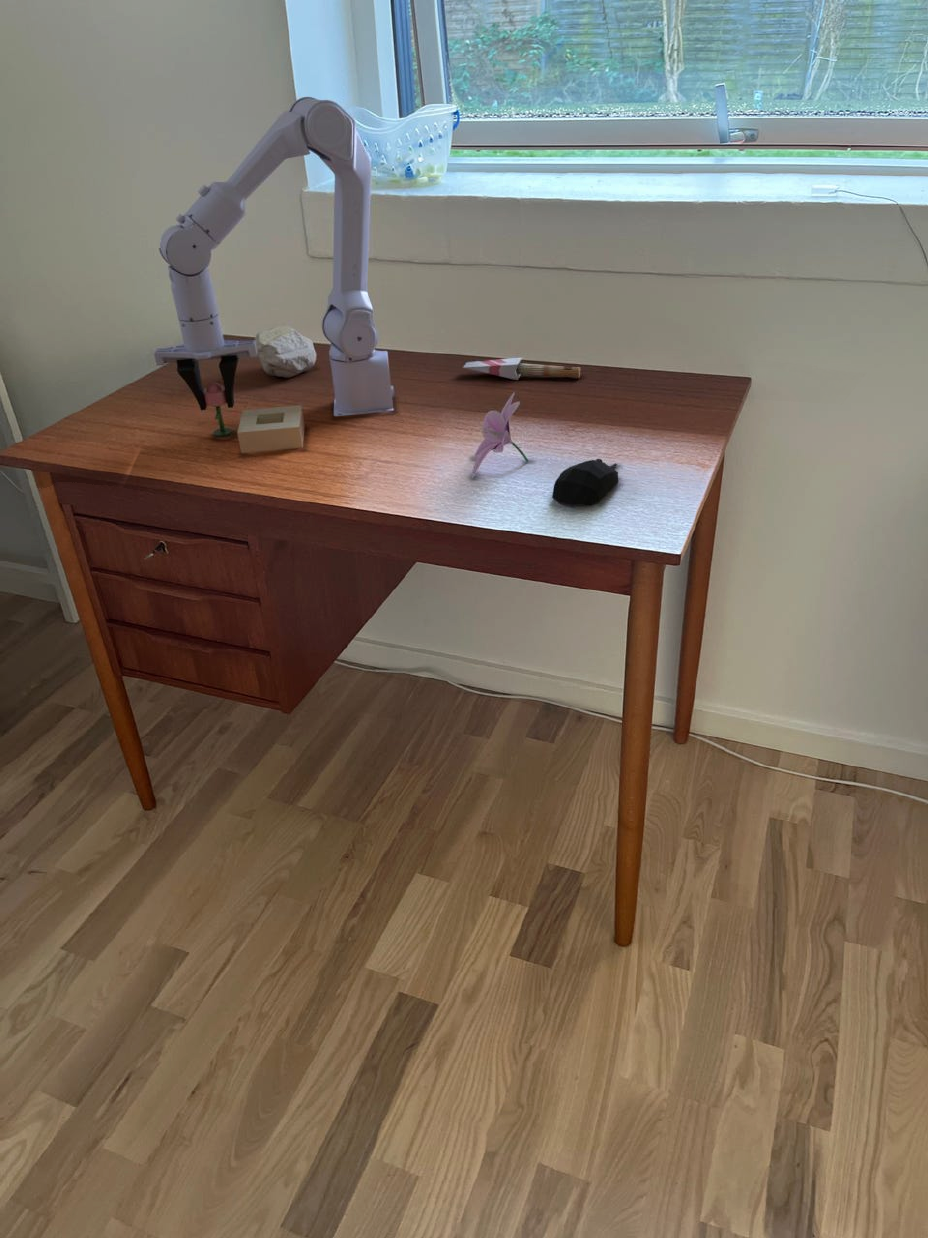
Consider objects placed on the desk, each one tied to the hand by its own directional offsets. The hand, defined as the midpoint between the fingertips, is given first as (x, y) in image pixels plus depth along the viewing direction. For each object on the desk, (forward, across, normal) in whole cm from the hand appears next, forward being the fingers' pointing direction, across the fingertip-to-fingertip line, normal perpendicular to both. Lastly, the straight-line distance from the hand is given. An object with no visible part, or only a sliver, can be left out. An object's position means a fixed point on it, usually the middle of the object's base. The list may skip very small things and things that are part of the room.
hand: (217, 406), depth 140 cm
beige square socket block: (+5, +8, -4) cm, 10 cm away
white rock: (+5, +9, +28) cm, 30 cm away
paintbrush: (+5, +49, +15) cm, 51 cm away
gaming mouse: (+5, +51, -30) cm, 59 cm away
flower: (+5, 0, 0) cm, 5 cm away
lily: (+5, +40, -20) cm, 45 cm away
